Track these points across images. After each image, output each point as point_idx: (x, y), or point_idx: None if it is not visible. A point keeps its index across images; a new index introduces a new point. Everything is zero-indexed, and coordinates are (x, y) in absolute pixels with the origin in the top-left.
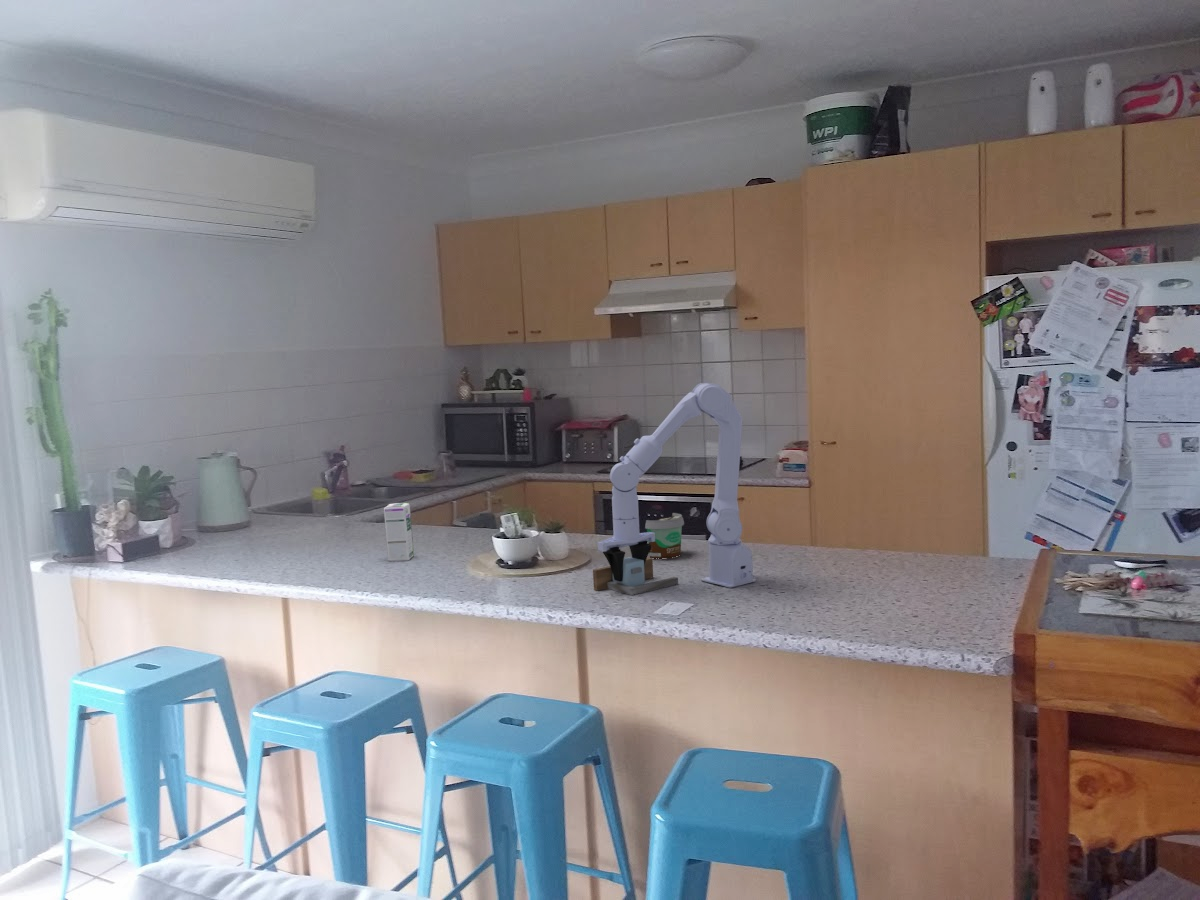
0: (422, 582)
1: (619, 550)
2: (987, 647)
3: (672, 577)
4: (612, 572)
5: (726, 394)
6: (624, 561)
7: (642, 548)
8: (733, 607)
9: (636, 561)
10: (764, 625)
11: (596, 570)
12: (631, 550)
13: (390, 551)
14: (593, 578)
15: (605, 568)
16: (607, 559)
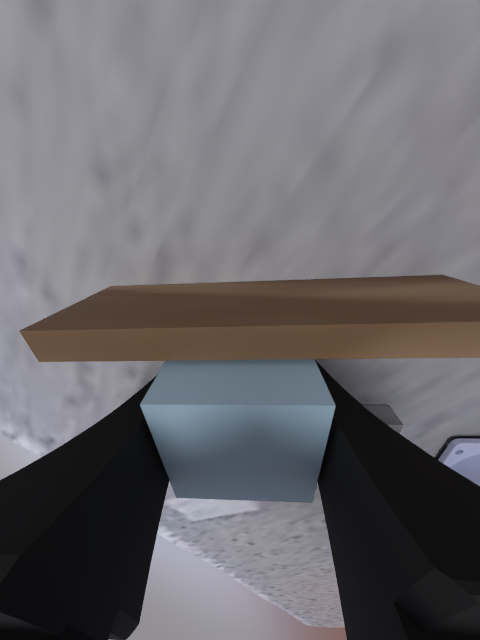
0: None
1: (99, 629)
2: (329, 624)
3: (392, 425)
4: (155, 377)
5: None
6: (205, 464)
7: (350, 630)
8: (290, 539)
9: (261, 496)
10: (253, 570)
11: (41, 361)
12: (370, 494)
13: None
14: (71, 306)
15: (112, 359)
16: (67, 449)
